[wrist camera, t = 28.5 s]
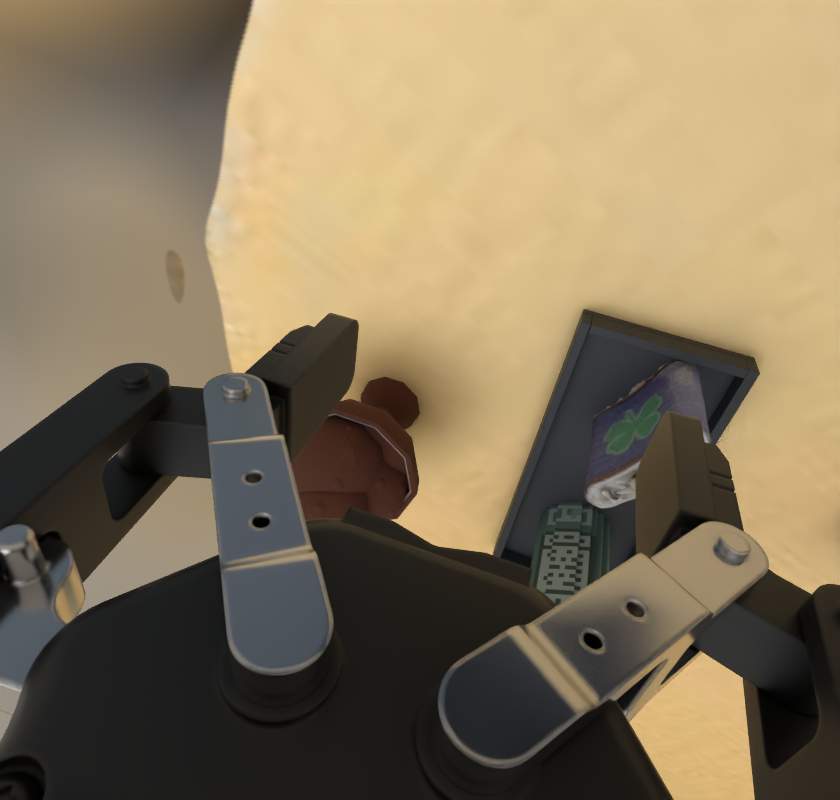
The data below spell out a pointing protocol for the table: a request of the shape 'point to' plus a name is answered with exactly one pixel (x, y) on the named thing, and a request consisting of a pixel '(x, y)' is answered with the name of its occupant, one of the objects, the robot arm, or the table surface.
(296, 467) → the ice cream bowl
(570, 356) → the tray
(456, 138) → the table surface
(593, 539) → the can
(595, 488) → the flask
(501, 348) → the table surface
